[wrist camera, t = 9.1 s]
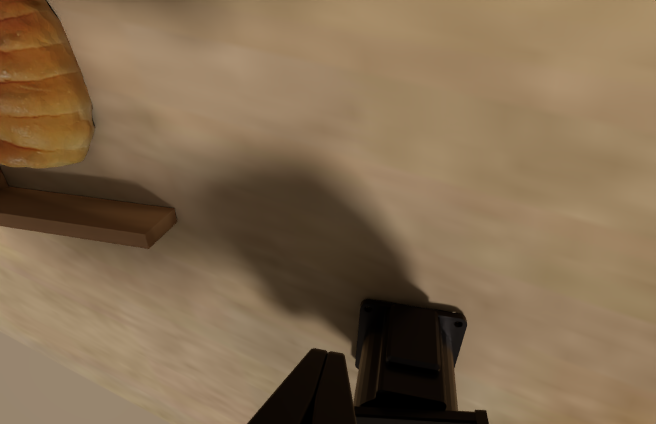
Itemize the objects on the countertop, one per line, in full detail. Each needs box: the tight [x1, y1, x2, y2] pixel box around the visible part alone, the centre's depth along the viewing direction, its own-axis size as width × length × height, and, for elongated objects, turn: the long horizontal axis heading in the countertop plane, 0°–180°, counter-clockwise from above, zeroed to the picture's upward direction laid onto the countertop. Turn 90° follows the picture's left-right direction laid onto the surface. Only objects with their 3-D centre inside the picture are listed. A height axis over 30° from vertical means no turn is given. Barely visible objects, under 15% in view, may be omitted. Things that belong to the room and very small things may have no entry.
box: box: [0, 169, 177, 249], centre depth 20 cm, size 16×14×3 cm
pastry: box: [0, 0, 95, 168], centre depth 19 cm, size 9×7×4 cm
